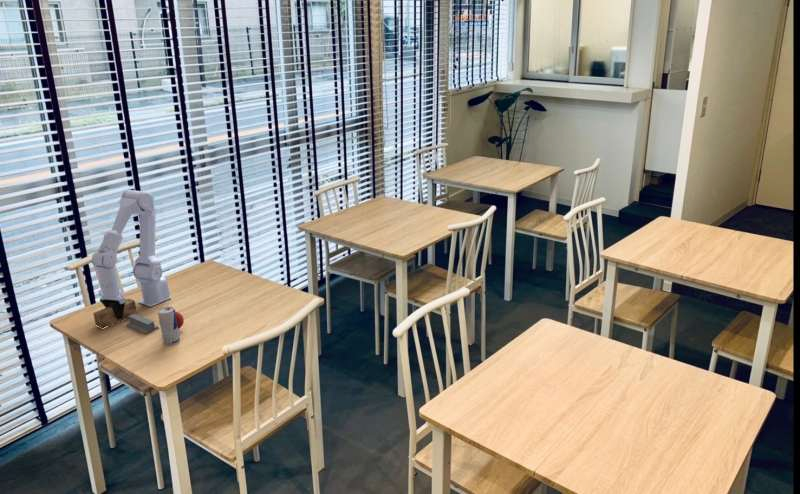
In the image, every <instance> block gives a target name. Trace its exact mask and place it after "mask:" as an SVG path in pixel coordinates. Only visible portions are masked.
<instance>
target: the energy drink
mask: <svg viewBox="0 0 800 494" xmlns="http://www.w3.org/2000/svg"><path fill="white" fill-rule="evenodd" d="M175 312H176V309H175V308H174V307H172V306H165V307H162V308H159V309H158V311H157V315H158V320H159V325H160V326H159V328H160V331H161V336H162V340H163V344H164V345H165V346H175V345H177V344H178V343H179V342H180V341H181V336H180V331H179V329H178V325H177V320H176V314H175Z"/></svg>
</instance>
